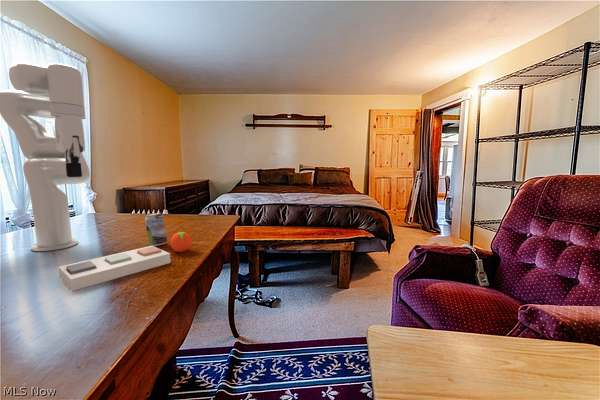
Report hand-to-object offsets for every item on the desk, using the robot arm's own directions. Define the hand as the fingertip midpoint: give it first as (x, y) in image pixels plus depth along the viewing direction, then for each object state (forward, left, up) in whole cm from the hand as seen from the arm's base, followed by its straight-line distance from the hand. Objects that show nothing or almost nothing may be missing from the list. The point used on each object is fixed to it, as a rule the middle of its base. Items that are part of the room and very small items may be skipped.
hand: (74, 176), depth 80 cm
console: (+15, +5, -26) cm, 31 cm away
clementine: (+14, +24, -27) cm, 38 cm away
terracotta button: (+15, +13, -26) cm, 32 cm away
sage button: (+15, +5, -25) cm, 30 cm away
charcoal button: (+15, -4, -25) cm, 30 cm away
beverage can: (0, +22, -27) cm, 34 cm away
